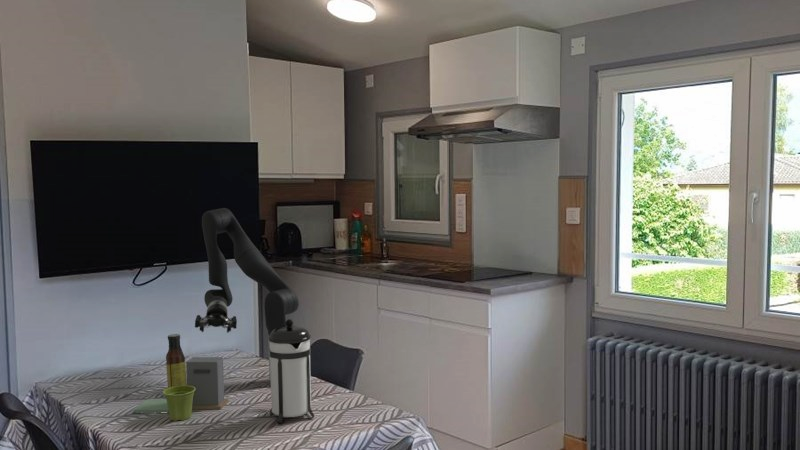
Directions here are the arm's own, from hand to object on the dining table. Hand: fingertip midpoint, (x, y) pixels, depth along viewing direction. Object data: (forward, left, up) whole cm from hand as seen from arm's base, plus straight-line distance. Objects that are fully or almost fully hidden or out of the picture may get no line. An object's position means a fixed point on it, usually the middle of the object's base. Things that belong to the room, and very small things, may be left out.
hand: (215, 329), depth 233 cm
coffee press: (-31, +26, -21) cm, 46 cm away
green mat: (+13, +19, -21) cm, 31 cm away
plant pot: (+2, +29, -21) cm, 36 cm away
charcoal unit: (-2, +17, -21) cm, 27 cm away
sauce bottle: (+13, +3, -21) cm, 25 cm away
